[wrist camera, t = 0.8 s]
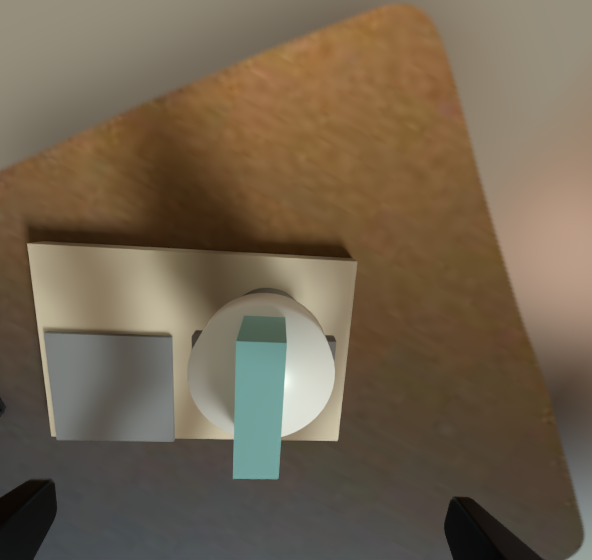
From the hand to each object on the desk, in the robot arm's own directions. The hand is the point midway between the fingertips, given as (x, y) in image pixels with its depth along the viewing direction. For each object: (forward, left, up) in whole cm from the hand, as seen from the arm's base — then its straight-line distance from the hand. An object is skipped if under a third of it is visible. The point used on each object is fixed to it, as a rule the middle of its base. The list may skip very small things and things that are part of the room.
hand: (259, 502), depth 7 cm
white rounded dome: (0, 0, -8) cm, 8 cm away
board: (-4, -2, -13) cm, 14 cm away
